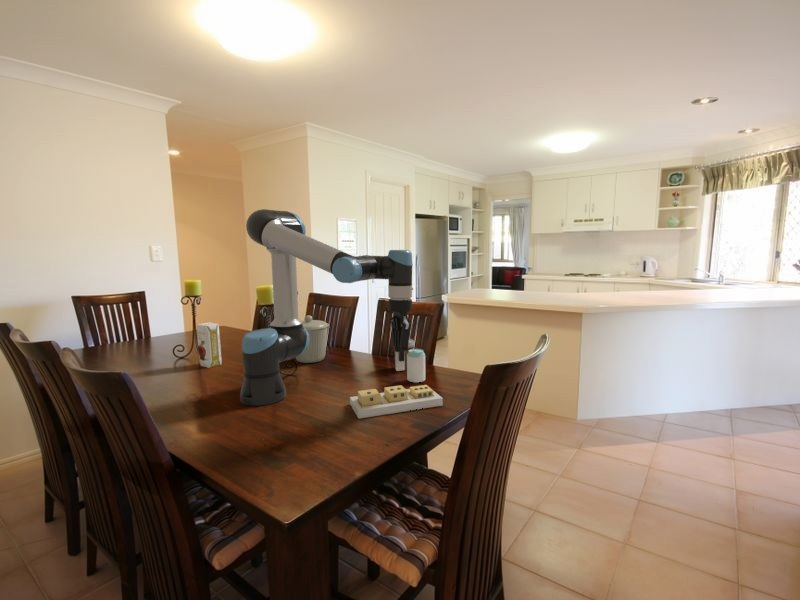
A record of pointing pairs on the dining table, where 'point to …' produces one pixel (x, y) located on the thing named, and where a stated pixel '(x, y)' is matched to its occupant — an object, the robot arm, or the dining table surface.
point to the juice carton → (209, 344)
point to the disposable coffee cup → (410, 346)
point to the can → (416, 365)
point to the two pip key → (395, 394)
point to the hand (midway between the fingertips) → (400, 369)
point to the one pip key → (369, 397)
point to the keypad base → (395, 405)
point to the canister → (314, 341)
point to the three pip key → (421, 391)
